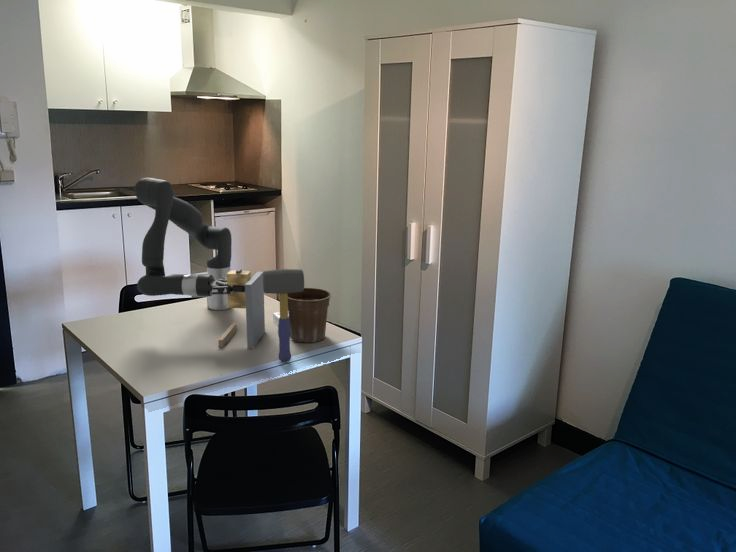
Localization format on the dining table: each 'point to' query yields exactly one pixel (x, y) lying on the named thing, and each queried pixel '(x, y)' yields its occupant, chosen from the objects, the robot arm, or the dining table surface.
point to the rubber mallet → (283, 302)
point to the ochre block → (237, 279)
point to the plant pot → (308, 314)
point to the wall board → (250, 313)
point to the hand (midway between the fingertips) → (246, 286)
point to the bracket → (277, 317)
